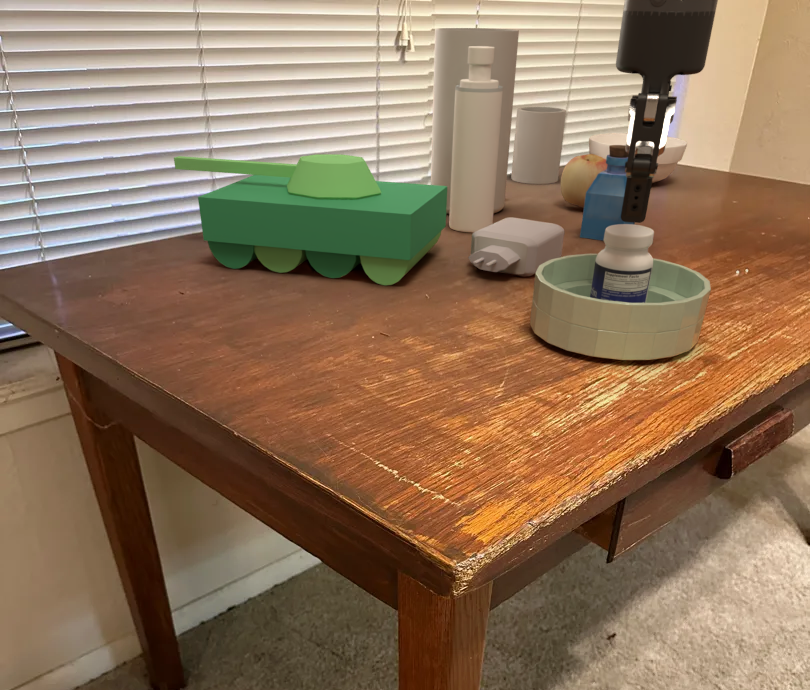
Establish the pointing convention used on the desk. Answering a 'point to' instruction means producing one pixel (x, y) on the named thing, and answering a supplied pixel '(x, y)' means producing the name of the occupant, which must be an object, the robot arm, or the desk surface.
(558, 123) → the cup
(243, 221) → the toy tank
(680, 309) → the ceramic bowl
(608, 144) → the bowl
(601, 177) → the perfume bottle
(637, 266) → the pill bottle
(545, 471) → the desk surface
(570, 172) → the apple
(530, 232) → the charger
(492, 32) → the cylinder vase
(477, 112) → the spray bottle
